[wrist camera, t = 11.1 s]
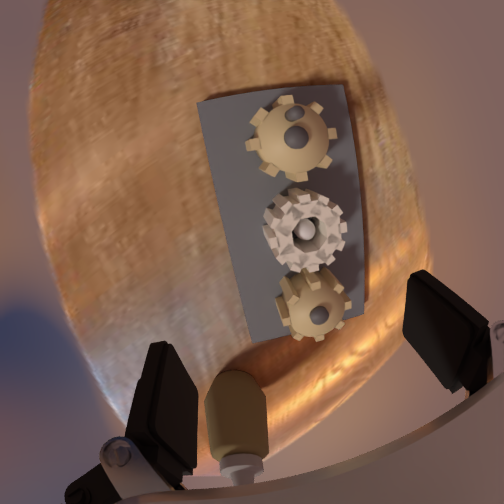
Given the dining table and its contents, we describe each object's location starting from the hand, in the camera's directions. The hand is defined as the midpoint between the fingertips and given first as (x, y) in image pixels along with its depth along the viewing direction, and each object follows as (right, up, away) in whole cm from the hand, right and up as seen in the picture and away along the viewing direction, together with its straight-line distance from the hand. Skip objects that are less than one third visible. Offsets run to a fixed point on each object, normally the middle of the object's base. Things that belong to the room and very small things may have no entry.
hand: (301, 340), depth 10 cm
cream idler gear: (+3, +6, +16) cm, 18 cm away
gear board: (+2, +7, +18) cm, 19 cm away
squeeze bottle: (-4, -15, +25) cm, 30 cm away
